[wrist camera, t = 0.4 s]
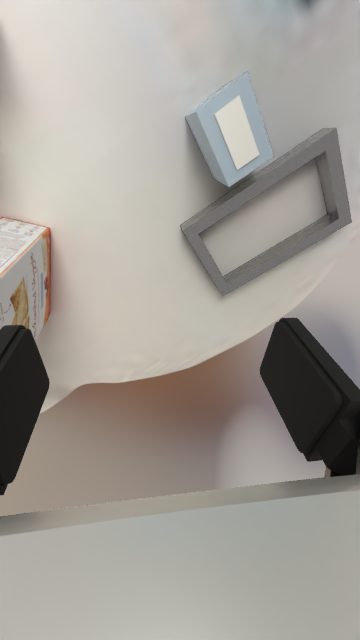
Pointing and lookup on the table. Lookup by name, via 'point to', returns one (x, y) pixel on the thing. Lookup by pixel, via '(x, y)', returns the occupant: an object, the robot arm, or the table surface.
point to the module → (231, 131)
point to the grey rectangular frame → (316, 146)
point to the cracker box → (24, 275)
